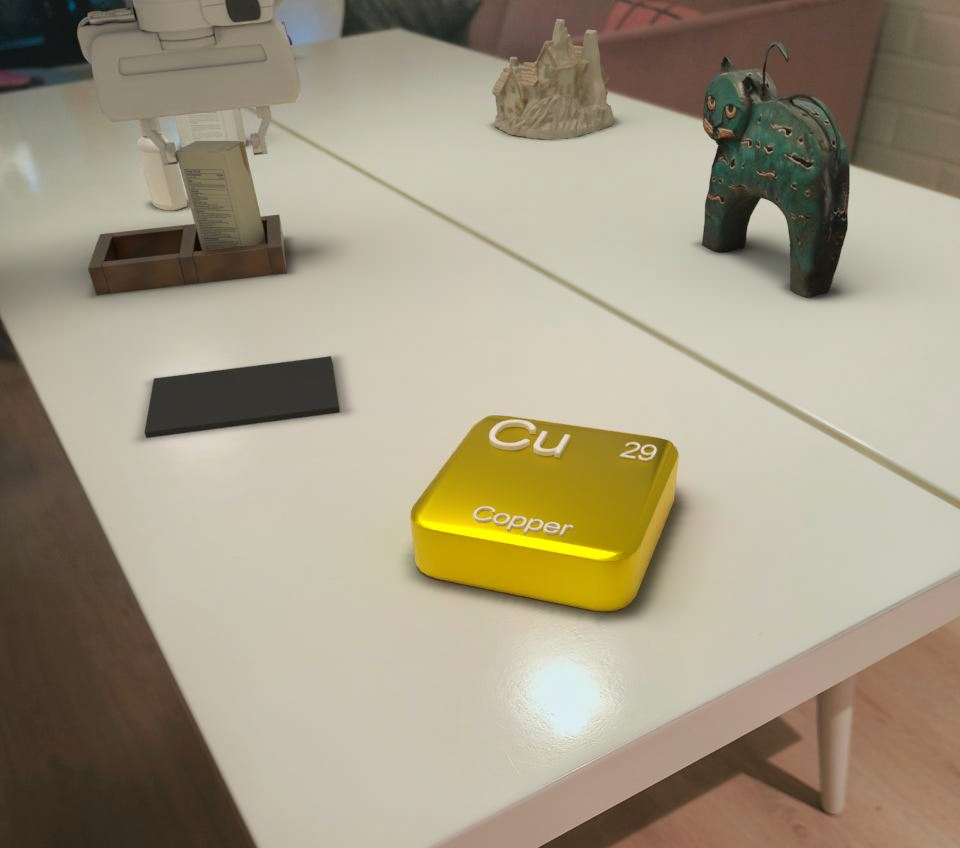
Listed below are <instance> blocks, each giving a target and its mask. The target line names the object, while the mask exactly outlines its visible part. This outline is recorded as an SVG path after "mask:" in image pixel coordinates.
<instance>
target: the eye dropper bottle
mask: <svg viewBox="0 0 960 848" xmlns="http://www.w3.org/2000/svg"><path fill="white" fill-rule="evenodd" d="M157 121H158V125H157V128H156V130H157V132H158V133H159V134H160V135H161V137H162V138H163V139H164V140H165V142H166V143H171V142H172V141H170V139H169V138H168V137H166V136H164V135H163V134H162V128H161V124H160V121H159V117H158V118H157ZM137 122H138V126H139V129H140V133H141V135H142V136H141V137H139V139H138V140H137V143H136V145H137V151H138V155H139V159H140V162H141V166H142V170H143V174H144V178H145V182H146V186H147V190H148V193H149V197H150V201H151V203H152V205H153V206H154V207H155V208H157V209H159V210H163V211H177V210H182V209H184V208H185V209H186V208H187V206H188V199H187V195H186V191H185V187H184V182H183V178H182V174H181V170H180V166H179V163H178V164H172V165H164V164H163V161H162V157H161V154H160V150H159V148H157V147H156V145H155V144H154V143H153V142H152V141H151V140H150V138H149V137H148V136H147V135H146V134H145V133H144V132H143V128H142V125H141V121H140V120H137Z"/></svg>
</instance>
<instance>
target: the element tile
mask: <svg viewBox="0 0 960 848" xmlns="http://www.w3.org/2000/svg"><path fill="white" fill-rule="evenodd" d="M679 457H680V455H679V450H678V448H677V446H676V445H675V444H674V443H673V442H672V441H671V440H669V439H666V438H661V437H657V436H652V435H645V434H638V433H630V432H624V431H617V430H610V429H603V428H595V427H589V426H582V425H576V424H575V425H574V424H568V423H562V422H554V421H547V420H541V419H540V420H539V419H533V418H526V417H519V416H512V415H511V416H510V415H498V414H493V415H487V416H486V417H484V418H482V419H480V421H477V422H476V423H474V425H472V427H471V428H470V429H469V431H468V432H467V433H466V435H464V438H463V439H462V440H461V441H460V443H459V444H458V446H457V447H456V448H455V449H454V451H453V452H452V453H451V455H449V458H448V459H447V460H446V462H445V463H444V464H443V465H442V467H441V468H440V469H439V471H438V472H437V474H436V475H435V476H434V477H433V478H432V480H431V481H430V482H429V484H428V485H427V487H426V488H425V490H424V491H423V492H422V493H421V495H419V497H418V499H417V500H416V501H415V503H414V504H413V505H412V507H411V510H410V527H411V535H412V544H413V552H414V560H415V565H416V566H417V568H418V569H419V571H420V572H421V573H423V574H424V575H426V576H427V577H430V578H433V579H437V580H439V581H440V580H441V581H445V582H450V583H455V584H461V585H465V586H469V587H475V588H479V589H484V590H490V591H495V592H500V593H505V594H509V595H510V594H511V595H513V596H514V595H515V596H518V597H519V596H520V597H524V598H528V599H529V598H530V599H535V600H539V601H544V602H548V603H554V604H559V605H563V606H569V607H573V608H579V609H584V610H589V611H592V612H615V611H618V610H621V609H625V608H626V607H627V606H628V605H630V604H631V603H632V602H633V601H634V600H635V598H636V597H637V595H638V592H639V590H640V587H641V584H642V582H643V580H644V577H645V575H646V573H647V569H648V567H649V565H650V562H651V560H652V557H653V555H654V552H655V550H656V547H657V545H658V542H659V540H660V538H661V535H662V532H663V530H664V527H665V525H666V523H667V519H668V517H669V515H670V512H671V511H672V507H673V505H674V503H675V495H676V488H677V487H676V486H677V477H678V467H679Z"/></svg>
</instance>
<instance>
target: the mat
mask: <svg viewBox="0 0 960 848" xmlns="http://www.w3.org/2000/svg"><path fill="white" fill-rule="evenodd" d="M335 378H336V377H335V372H334V366H333V360H332V356H331V355H330V356H321V357H314V358H304V359H296V360H290V361H281V362H273V363H266V364H259V365H257V364H256V365H249V366H242V367H241V366H240V367H233V368H225V369H217V370H209V371H203V372H193V373H186V374H177V375H169V376H162V377H154V378H153V382H152V387H151V392H150V397H149V405H148V410H147V416H146V421H145V422H146V423H145V426H144V427H145V428H144V435H145V438H147V439H149V438H155V437H162V436H170V435H171V436H172V435H177V434H178V435H179V434H186V433H194V432H201V431H209V430H215V429H224V428H233V427H239V426H240V427H241V426H246V425H247V426H248V425H254V424H260V423H261V424H263V423H270V422H276V421H277V422H278V421H284V420H285V421H286V420H292V419H300V418H308V417H316V416H323V415H330V414H331V415H332V414H339V413H340V406H339V400H338V392H337V385H336V379H335Z"/></svg>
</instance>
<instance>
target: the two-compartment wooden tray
mask: <svg viewBox="0 0 960 848" xmlns="http://www.w3.org/2000/svg"><path fill="white" fill-rule="evenodd" d="M260 216H261V215H260ZM261 220H262V225H263V229H264V233H265V238H266V243H267V244H259V245H250V246H241V247H232V248H223V249H214V250H205V251H202V248H201V245H200V241H199V237H198V233H197V230H196V226H195V223H189V224H179V225H170V226H161V227H160V226H159V227H153V228H143V229H136V230H133V229H132V230H125V231H116V232H108V233H107V232H106V233H100V234H99V236H98V239H97V242H96V245H95V247H94V250H93V253H92V255H91V257H90V261H89V264H88V267H87V271H88V274H89V277H90V280H91V282H92V286H93V289H94V292H95V295H96V296H103V295H113V294H121V293H129V292H138V291H148V290H155V289H163V288H172V287H174V288H175V287H183V286H189V285H199V284H208V283H215V282H225V281H233V280H241V279H243V280H244V279H250V278H258V277H259V278H261V277H268V276H269V277H270V276H277V275H285V274H288V273H287V261H286V258H287V257H286V247H285V237H284V232H283V227H282V226H283V225H282V222H281V216H280V214H271V215H262V216H261Z"/></svg>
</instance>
